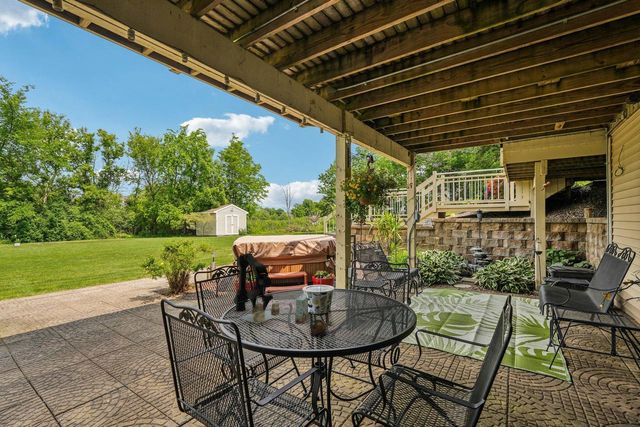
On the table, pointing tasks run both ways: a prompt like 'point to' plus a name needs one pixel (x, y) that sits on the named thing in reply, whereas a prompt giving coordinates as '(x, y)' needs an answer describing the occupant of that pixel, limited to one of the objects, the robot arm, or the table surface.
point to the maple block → (259, 316)
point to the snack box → (301, 309)
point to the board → (250, 318)
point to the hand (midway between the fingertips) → (259, 309)
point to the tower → (275, 309)
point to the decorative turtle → (318, 327)
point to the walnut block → (257, 308)
